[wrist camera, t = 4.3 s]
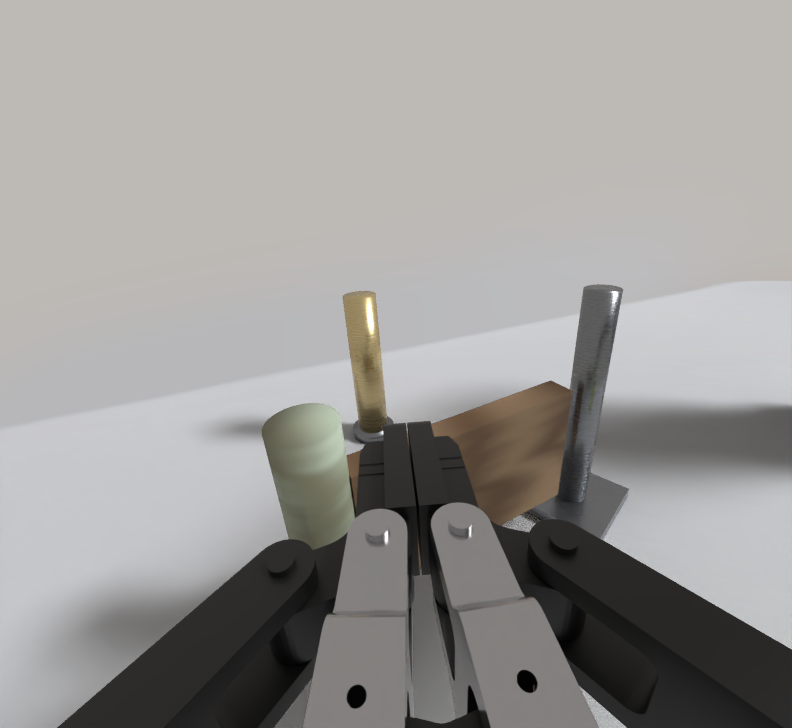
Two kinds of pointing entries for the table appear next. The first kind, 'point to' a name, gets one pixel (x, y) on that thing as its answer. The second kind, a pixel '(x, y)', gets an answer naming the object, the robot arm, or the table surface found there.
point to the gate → (473, 431)
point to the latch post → (366, 365)
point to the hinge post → (588, 421)
